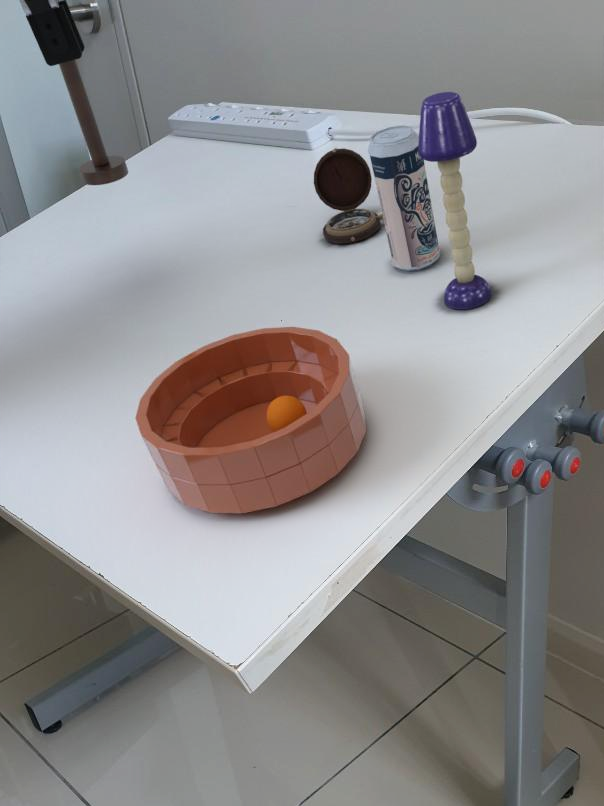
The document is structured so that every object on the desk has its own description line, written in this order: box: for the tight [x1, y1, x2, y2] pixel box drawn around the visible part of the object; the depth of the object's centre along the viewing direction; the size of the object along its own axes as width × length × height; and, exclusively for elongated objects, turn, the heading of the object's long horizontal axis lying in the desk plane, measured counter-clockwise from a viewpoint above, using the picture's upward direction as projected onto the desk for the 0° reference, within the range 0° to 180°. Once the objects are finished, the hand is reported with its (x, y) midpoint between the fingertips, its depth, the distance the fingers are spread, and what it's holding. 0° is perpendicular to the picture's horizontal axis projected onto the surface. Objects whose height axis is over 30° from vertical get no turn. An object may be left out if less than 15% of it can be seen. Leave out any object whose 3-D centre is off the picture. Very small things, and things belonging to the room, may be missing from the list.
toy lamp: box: [418, 91, 493, 310], centre depth 72 cm, size 5×5×17 cm
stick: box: [58, 59, 129, 186], centre depth 79 cm, size 4×4×16 cm
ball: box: [267, 396, 307, 432], centre depth 65 cm, size 3×3×3 cm
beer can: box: [367, 125, 441, 272], centre depth 80 cm, size 5×5×12 cm
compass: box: [313, 147, 384, 244], centre depth 90 cm, size 8×8×7 cm
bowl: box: [135, 326, 367, 514], centre depth 64 cm, size 16×16×6 cm
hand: (66, 56), depth 77 cm, fingers closed on stick, 1 cm apart
